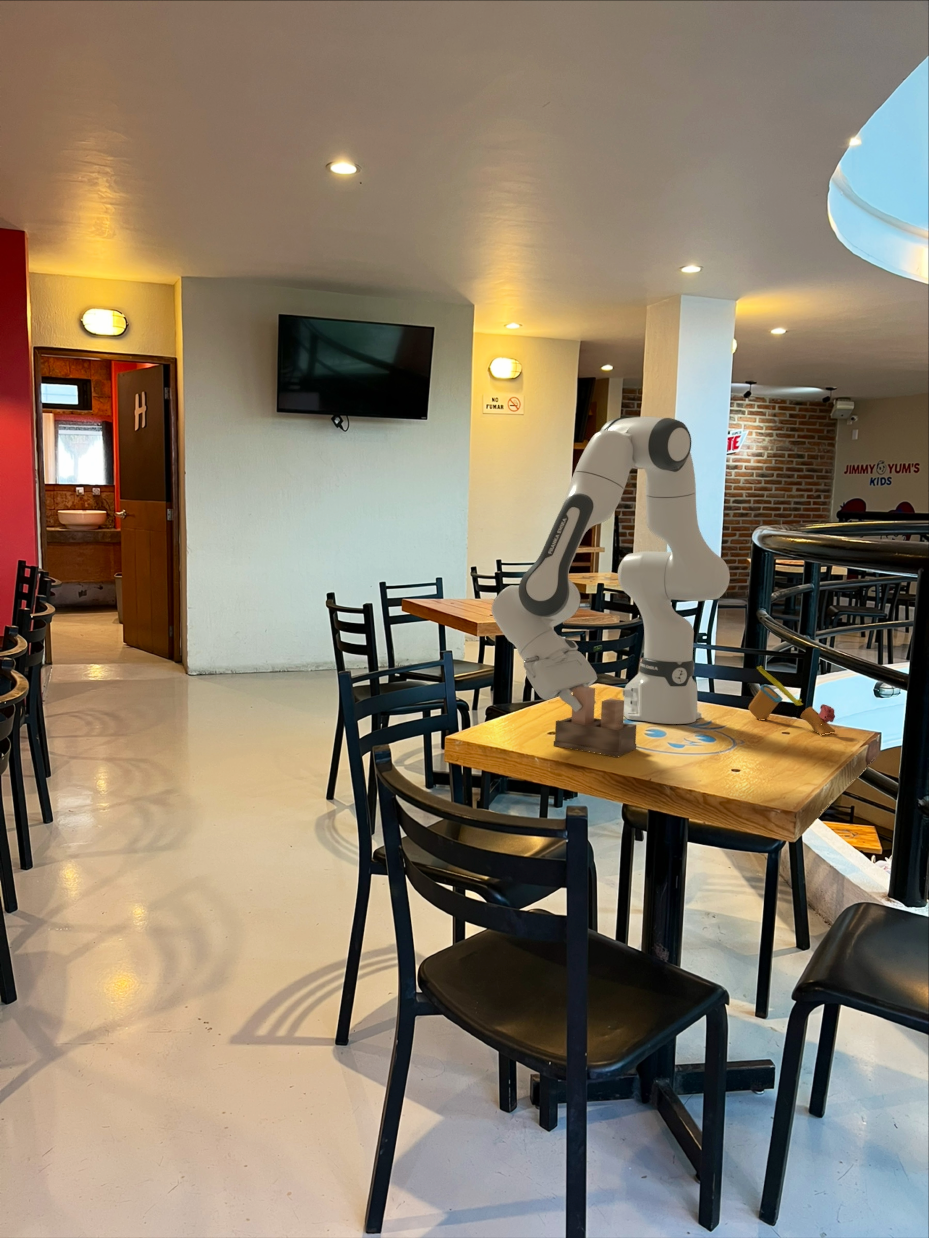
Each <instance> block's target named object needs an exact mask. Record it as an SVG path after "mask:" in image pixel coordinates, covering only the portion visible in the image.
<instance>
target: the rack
mask: <svg viewBox="0 0 929 1238" xmlns="http://www.w3.org/2000/svg"><path fill="white" fill-rule="evenodd" d="M600 708H601V710H600V711H601V712H600V714H601V715H600V718H597V717H596V718H595V717H594V723H591V724H589V725H583V724H577V723H572V716H570V717H567V718H564V719H562V720H561V719H560V720H558V719H557V720H555V728H554V729H555V730H554V731H555V732H554V734H555V735H554V740H553V747H557V746H559V747H558V748H563V747H566V748H565V749H568V748H572V749H571V750H574V749H578V750H577V751H579V750H583V751H582V752H584V751H590V752H595V753H601V754H605V755H604V756H606V755H610V756H609V757H612V756H615V757H614V758H619V757H618V756H620V757H622V756H624V755H626V754H628V753H631V752H633V751H635V750H636V749H637V743H636V739H637V724H633V723H627V722H624V717H625V716H624V699H618V698H608V699H605V700H602V701H601V707H600ZM634 749H635V750H634ZM590 752H589V753H590ZM595 753H594V754H595ZM625 753H626V754H625ZM601 754H600V755H601ZM623 754H624V755H623ZM621 755H622V756H621Z"/></svg>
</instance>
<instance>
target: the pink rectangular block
mask: <svg viewBox="0 0 929 1238" xmlns="http://www.w3.org/2000/svg"><path fill="white" fill-rule="evenodd" d="M572 695H573V696H574V697H575V698H576V699H577V700H578V699H579V700H580V701H581V703H582V704H583V706H584V707H583V708H582V709H581V710H579V711H577V712H575V711H574V710H573V709H572V708H571V717H572V723H577V724H583V725H589V724H591V723H594V718H595V704H596V703H595V701H596V688H595V687H590V686H589V687H584V686H581V687H578V688H574V689H573V692H572Z"/></svg>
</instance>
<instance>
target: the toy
mask: <svg viewBox="0 0 929 1238" xmlns="http://www.w3.org/2000/svg"><path fill="white" fill-rule="evenodd" d="M756 670H758V672H760V674H762V676H764V678H766V679H767V680H768V681H769V682H770V683H771V684H773V686H775V688H776V689H777V690H779V691H780V692H781V693H782V694H783V695H784V696H785V697H787V698H788V699H789V700H790V701H791V702H792V703H793V704H794V705H795V706H803V705H804V703H802V698H798V699H796V697H795V696H794V695H793V694H792V693H791V692H790V691H789V690H788V689H787V688H786V687H785V686H784V685H783V684H782V683H781V682H780V681H779V680H777V679H776V678H775V677H773V676H772V675H771V674H770V673H768V672H767V670H765V669H764V668H763V666H762V665H760V666H756ZM782 701H783V697H782V696H781V695H780V694H779V693H777V691H775V690H774V689H773V688H772V687H771V686H769V685H768V684H762V685H760V687H759V690H758V692H757V694H755V696H754V697H753V699H752V700H751V701H750V703H749V705H748V710H749V712H750V713H751V714H752V715H753V716H754V717H755V718H756V719H757V720H759V719H766V720H767V719H768V718H769V717H770V716H771V713H772V712H773V710H775V708H776V707H777V706H778V705H779V703H781V702H782ZM819 709H820V712H818V711H817V710H816V709H814V708H813V706H809V707H807V708H805V710H803V711H802V713H801V714H800V718H801V719H802V720H804V721H806V722H807V723H808V724H809V726H811V728H812V729H813V732H815V731H816V732H818V733H819V734H821V735H822V734H825V733H830V732H834V733H835V732H836V730H835V729H834V728H833V727H832V726H830V724H829V722H830V723H833V722H834V720H835V717H836V715H835V709H834V708H833V707H832V706H829V705H827V704H821V705H820V708H819ZM821 724H822V725H821ZM816 732H815V733H816ZM818 733H817V734H818ZM819 734H818V735H819Z"/></svg>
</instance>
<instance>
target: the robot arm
mask: <svg viewBox="0 0 929 1238" xmlns="http://www.w3.org/2000/svg"><path fill="white" fill-rule="evenodd" d="M691 451H692V436H691V433H690V430H689V429H688V427H687V425H686V424H685V423H684V422H682V421H680V420H678V419H675V418H672V417H664V418H663V417H657V416H645V415H643V416H637V417H635V416H634V417H617V418H613V419H610V420H609V421H607V422H606V423H605V424H604V425H603V426H602V427H601V429H600V430H599V431H598V432H596V433H594V435H593V436H592V437H591V438H590V440H589V441H588V443H587V445H586V446H585V448H584V450H583V452H582V454H581V456H580V458H579V460H578V463H577V464H576V467H575V470H574V472H573V475H572V477H571V480H570V482H569V485H568V488H567V492H566V495H565V498H564V501H563V503H562V505H561V508H560V510H559V513H558V515H557V517H556V519H555V521H554V523H553V525H552V528H551V530H550V532H549V534H548V537H547V539H546V542H545V544H544V547H543V548H542V550H541V552H540V555H539V556H538V558H537V559H536V560H535V562H534V563H533V564H532V566H530V567H529V568H528V570H527V571H526V572H525V573H524V574H523V576H522V577H521V579H520V582H519V585H511V584H510V585H509V586H506V587H505V588H504V589H502V590H501V591H499V593H498V594H497V595H496V596H495V598H494V600H493V601H492V604H491V614H492V616H493V619H494V621H495V623H496V625H497V626H498V627H499V630H500V631H501V633H502V634H503V635H504V636H505V638H506V639H507V641H508V642H510V643H512V644H513V645H514V647H515V648H516V651H517V653H518V655H519V657H521V659H522V660H523V668H524V670H525V674H526V677H527V679H528V681H529V683H530V684H531V686H532V688H533V689H534V691H535V692H536V694H537V695H538V696H539V697H540V698H541V699H543V700H544V701H547V700H551V699H554V698H557V697H559V698H560V700H561V701H563V702H564V703H565V704H567V705H568V706H570V708H571V710H572V709H573V710H574V711H575V712H577V711H579V710H581V709H582V708H583V707H584V706H583V704H582V703H581V701H580V700H579V699H578V700H577V699H576V698H575V697H574V696H573V689H574V688H578V687H581V686H584V687H590V686H591V685H593V684H594V683H595V682H596V681H597V680H598V677H597V676H598V675H597V672H596V671H595V669H594V668H593V667H592V665H591V664H590V662H589V661H588V659H587V658H586V656H584V654H582V652H580V651H578V648H579V646H578V645H577V643H576V641H574V640H572V639H568V638H565V637H563V636H561V635H558V634H557V632H556V631H555V629H554V628H555V627H556V626H559V625H560V624H562V623H564V622H566V621H567V620H569V619H571V618H572V617H573V616H574V615H576V613H577V612H578V611H579V609H580V605H581V601H582V600H581V599H582V598H581V593H580V590H579V588H578V587H577V585H576V584H575V583H574V582H573V581H571V580H570V578H569V575H570V574H569V571H570V569H571V565H572V563H573V560H574V559H575V557H576V554H577V551H578V549H579V547H580V544H581V542H582V540H583V538H584V536H585V534H586V532H588V530H589V529H591V528H592V527H594V526H595V525H599V524H600V525H601V524H602V523H604V522H607V521H608V520H609V519H610V518H611V517H612V515H613V514H614V513H615V511H616V509H617V507H618V505H619V503H620V501H621V499H622V496H623V493H624V492H625V488H626V485H627V483H628V479H629V476H630V472H631V470H632V469H636V470H644V471H645V473H646V474H645V513H646V514H645V516H646V517H645V518H646V522H645V523H646V526H647V528H648V530H649V531H650V532H651V533H652V534H653V536H655V537H657V538H659V539H661V540H663V541H664V542H665V543H666V545H667V546H668V548H669V549H670V551H660V550H659V551H656V550H654V551H653V550H643V551H637V552H633V553H632V552H631V553H628V554H626V555H625V556H624V557H623V558H622V560H621V562H620V563H619V565H618V568H617V579H618V580H617V581H618V584H619V586H620V587H621V589H622V591H623V592H624V593H625V594H627V595H628V596H629V597H630V598H631V599H632V601H633V602H634V603H635V605H636V606H637V607H636V608H638V610H639V613H640V615H641V618H642V622H643V630H644V631H643V632H644V636H643V637H644V648H643V649H644V651H643V657H641V658H639V660H641V661H639V668H638V671H639V672H638V673H637V674H636V675H635V676H634V677H633V678H632V679H631V680H630V681H629V682H628V683H627V684H626V685H625V687H624V688H622V696H623V700H624V716H623V717H625V718H626V719H628V720H630V721H631V720H633V721H642V722H649V723H655V724H664V725H665V724H669V725H676V724H677V725H682V724H691V723H694V722H697V720H699V719H701V718H702V712H700V711H698V685H697V683H696V681H695V680H694V679H693V676H694V672H695V660H694V659H693V656H694V655H693V652H694V651H693V650H694V635H695V632H694V627H693V625H692V624H691V622H690V621H689V620H688V619H687V618H685V617H683V616H682V615H680V614H678V613H677V612H676V611H675V610H674V608H673V606H672V602H671V601H672V600H676V601H677V600H678V601H688V602H689V601H690V602H703V601H712V600H719V599H720V597H722V596H723V595H724V594H725V592H726V591H727V589H728V587H729V585H730V578H731V576H730V575H731V574H730V569H729V567H728V565H727V563H726V562H725V560H724V559H723V558H722V557H720V556H719V555H718V554H717V553H715V552H714V551H713V550H712V549H711V547H710V546H709V545H708V544H707V542H706V541H705V539H704V537H703V535H702V533H701V531H700V527H699V521H698V513H697V496H696V495H697V490H696V477H695V476H696V474H695V468H694V463H693V457H692V453H691ZM596 702H597V701H596V700H595V704H596Z"/></svg>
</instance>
